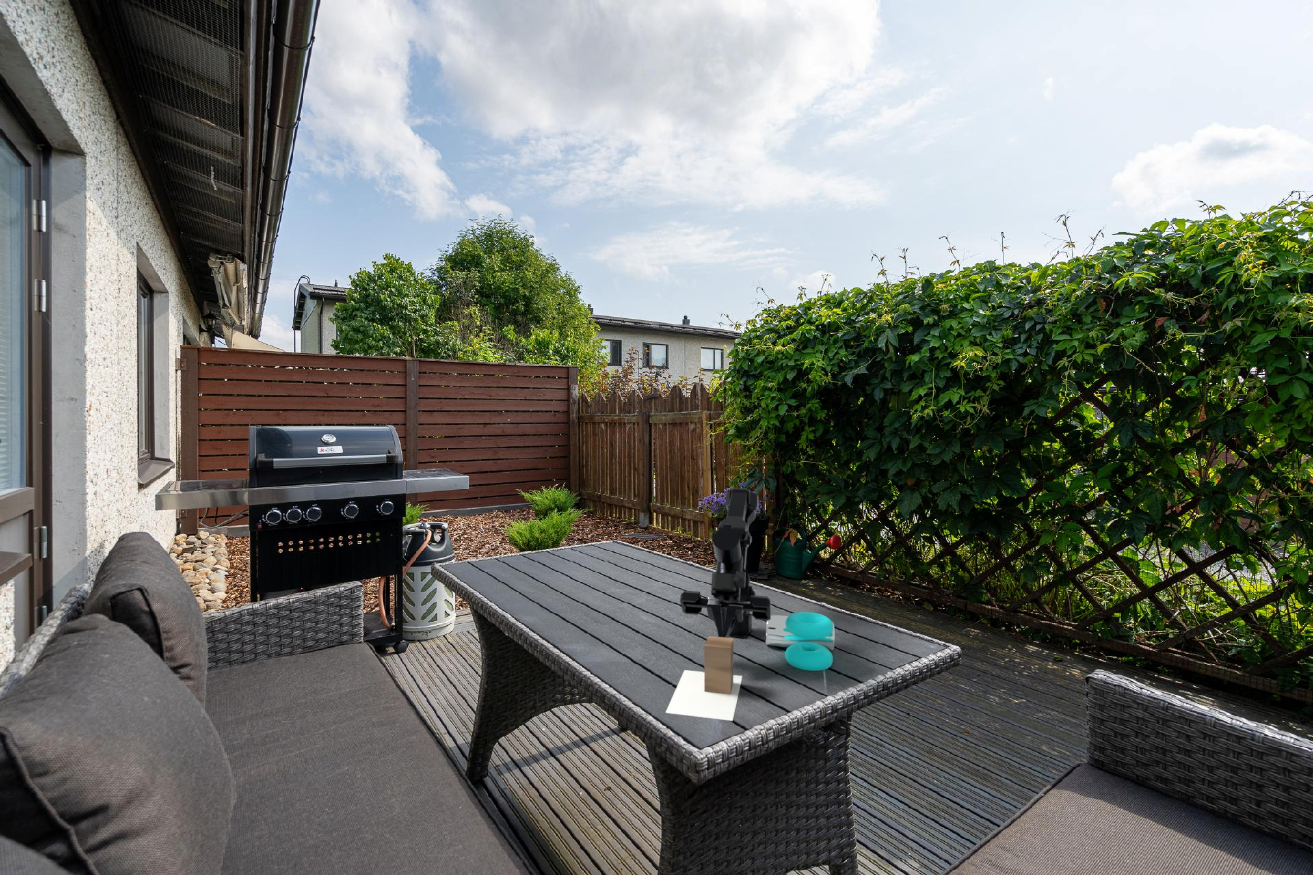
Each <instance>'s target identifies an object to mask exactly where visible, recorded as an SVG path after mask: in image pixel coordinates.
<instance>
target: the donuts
mask: <svg viewBox="0 0 1313 875" xmlns="http://www.w3.org/2000/svg"><path fill="white" fill-rule="evenodd" d="M787 616H788V617H787V619H786V622H785V624H786V628H787V629H788V631H789V632H790V633H792V634H793V635H795V636H797V637H800V638H803V639H811V640H816V639H822V638H825V637H827V636H829V635H830V634H831V633H832V631H833V623H834V622H833V621H832V620H831V619H830V618H829V617H827V616H826V615H824V614H820V613H817V612H811V611H799V612H794V613H791V614H790V615H787ZM832 622H833V623H832ZM784 657H785V660H786V662H787V663H788V664H789V666H792V667H794V668H796V669H799V670H804V671H810V672H811V671H812V672H813V671H815V672H816V671H825V670H827V669H829V668H830V667H831V666H832V665H833V664H834V663H833V662H834V658H833V654H832V653H831V651H830V649H827V648H825V647H824V646H822V645H819V644H816V643H811V642H800V643H795V644H793V645H791V646H790V647H788V648H787V647H786V650H785V653H784Z"/></svg>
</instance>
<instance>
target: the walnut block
mask: <svg viewBox="0 0 1313 875" xmlns="http://www.w3.org/2000/svg"><path fill="white" fill-rule="evenodd" d="M703 656H704V658H703V659H704V661H703V662H704V663H703V664H704V671H703V672H704V692H712V693H721V694H731V690H732V686H733V675H734V637H733V638H732V637H728V638H724V637H718V636H710V635H709V636H707V639H706V642H705V644H704V655H703Z"/></svg>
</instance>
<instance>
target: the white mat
mask: <svg viewBox="0 0 1313 875" xmlns="http://www.w3.org/2000/svg"><path fill="white" fill-rule="evenodd" d="M742 680H743V675H736V674H733V686H732V690H731V694H721V693H712V692H704V671H697V670H686V669H684V671H683V673H682V674H681V676H680V679H679V682H678V684H677V686H676V688H675V689H674V691H673V692H674V693H673V695H672V697H671V699H670V702H669V705H668V706H667V708H666V710H665V714H670V715H671V714H672V715H679V716H688V717H695V718H705V719H713V720H721V721H730V722H733V721H734V716H735V713H736V712H735V711H736V706H737V703H738V702H737V701H738V699H739V694H740V688H741V684H742Z"/></svg>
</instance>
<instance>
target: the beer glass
mask: <svg viewBox="0 0 1313 875" xmlns="http://www.w3.org/2000/svg"><path fill="white" fill-rule="evenodd" d="M788 616H789V615H781V614H780V615H776V614H775V615H772V614H771V620H765V621H766V622H765V645H767V646H773V647H780V648H786V649H787V648H788V647H790V646H791V645H793V644H795V643H800V642H811V643H816V644H819V645H822V646H824V647H825V648H827V649H828V650H829V651H830V650H831V651H833V650H834V648H835V637H836V636H835V635H836V634H835V632H836V631H835V624H834V623H835V622H834V621H832V623H833V631H832V633H831V634H830V635H829V636H827V637H825V638H822V639H816V640H811V639H803V638H800V637H797V636H795V635H793V634H792V633H790V632H789V631H788V629H787V628H786V624H785V622H786V619H787V617H788Z"/></svg>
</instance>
